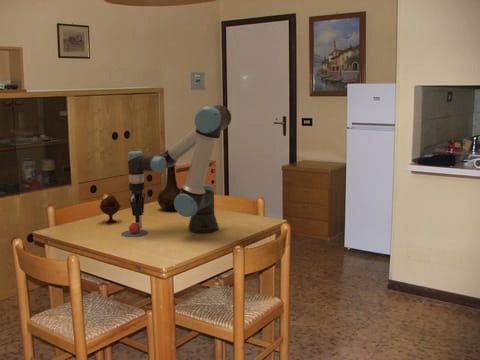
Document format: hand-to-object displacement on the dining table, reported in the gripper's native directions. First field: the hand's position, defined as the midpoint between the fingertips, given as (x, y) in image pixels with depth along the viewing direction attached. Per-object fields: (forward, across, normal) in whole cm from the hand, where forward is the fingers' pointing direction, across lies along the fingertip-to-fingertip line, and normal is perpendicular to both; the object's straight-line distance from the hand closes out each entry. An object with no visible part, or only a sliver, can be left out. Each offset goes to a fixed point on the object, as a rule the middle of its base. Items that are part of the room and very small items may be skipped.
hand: (138, 228), depth 287 cm
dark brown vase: (+2, -50, -3) cm, 50 cm away
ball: (-1, +5, 0) cm, 5 cm away
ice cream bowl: (+2, -13, -24) cm, 27 cm away
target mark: (+2, +4, 0) cm, 5 cm away
